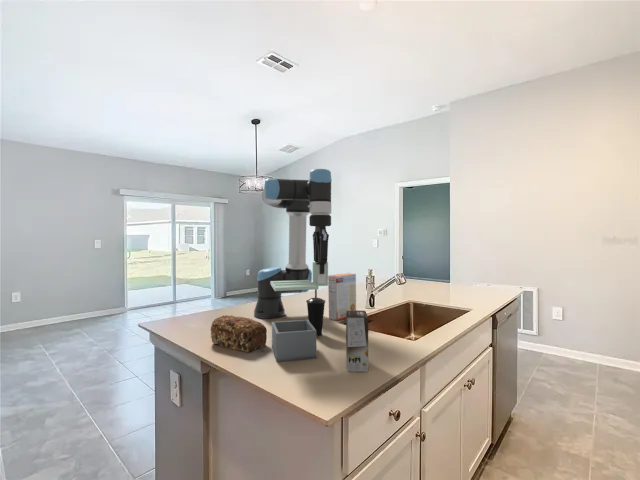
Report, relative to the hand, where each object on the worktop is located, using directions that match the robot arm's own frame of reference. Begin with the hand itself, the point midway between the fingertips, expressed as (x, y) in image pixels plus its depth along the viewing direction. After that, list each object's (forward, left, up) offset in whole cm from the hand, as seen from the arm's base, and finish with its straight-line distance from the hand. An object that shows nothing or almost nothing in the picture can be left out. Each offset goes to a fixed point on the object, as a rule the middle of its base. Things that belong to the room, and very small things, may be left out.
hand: (320, 282), depth 113 cm
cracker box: (-41, +21, -24) cm, 52 cm away
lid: (0, -7, -1) cm, 7 cm away
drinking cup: (-17, +2, -24) cm, 29 cm away
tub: (0, -10, -23) cm, 25 cm away
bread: (-12, -27, -24) cm, 38 cm away
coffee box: (+16, +7, -24) cm, 30 cm away
